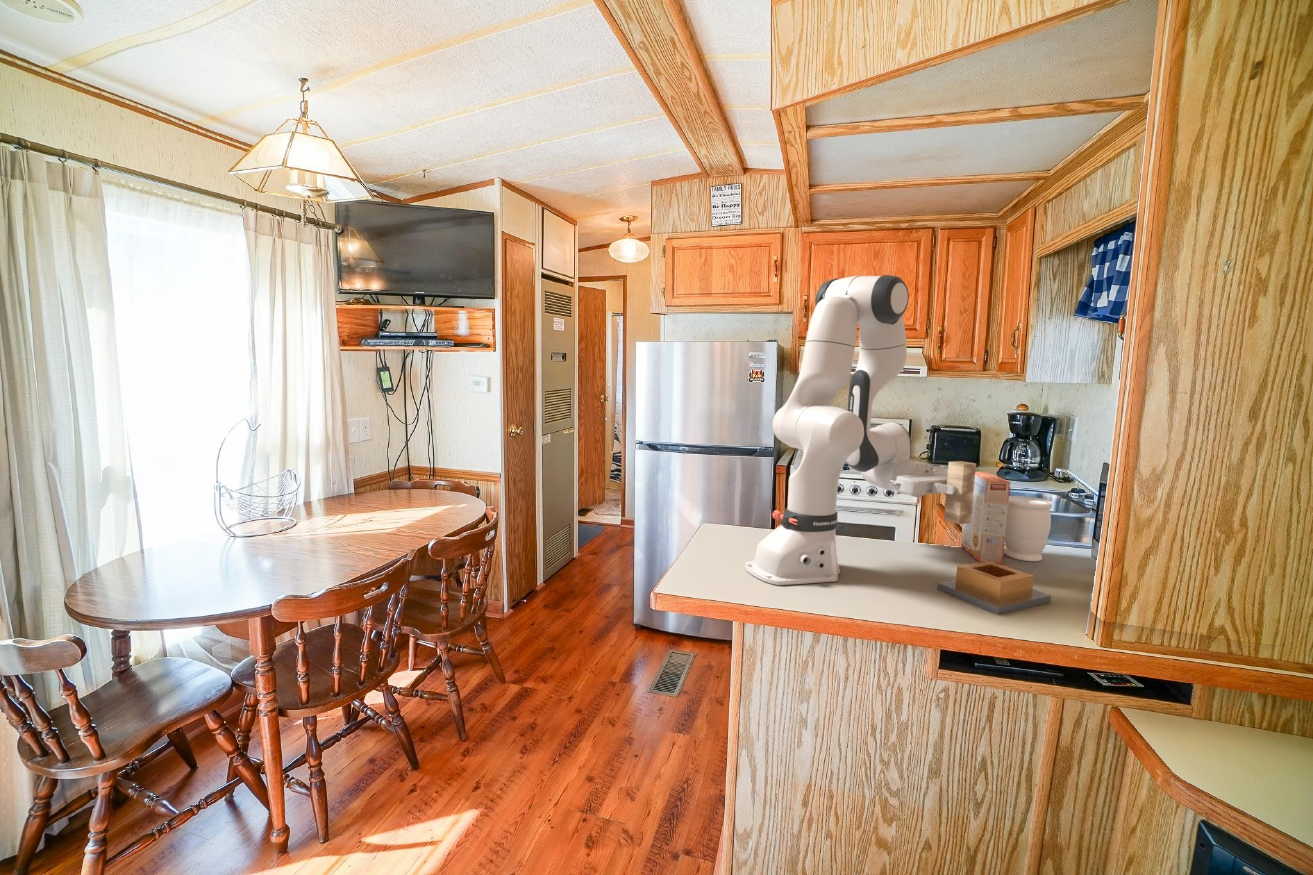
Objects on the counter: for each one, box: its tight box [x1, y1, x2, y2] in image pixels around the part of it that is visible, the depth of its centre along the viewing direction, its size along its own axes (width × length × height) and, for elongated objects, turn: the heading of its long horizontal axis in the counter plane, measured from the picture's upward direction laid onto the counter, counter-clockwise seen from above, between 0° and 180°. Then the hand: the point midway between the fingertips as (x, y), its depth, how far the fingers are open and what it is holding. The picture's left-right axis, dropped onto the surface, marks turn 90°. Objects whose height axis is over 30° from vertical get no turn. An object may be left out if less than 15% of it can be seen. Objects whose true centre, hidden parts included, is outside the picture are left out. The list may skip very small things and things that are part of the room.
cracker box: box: [960, 471, 1011, 565], centre depth 148 cm, size 14×6×21 cm, turn 168°
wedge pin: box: [943, 460, 977, 525], centre depth 135 cm, size 4×4×14 cm
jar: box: [1003, 495, 1053, 562], centre depth 147 cm, size 11×10×15 cm
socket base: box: [936, 561, 1052, 615], centre depth 122 cm, size 16×14×6 cm
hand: (963, 489), depth 134 cm, fingers closed on wedge pin, 4 cm apart
